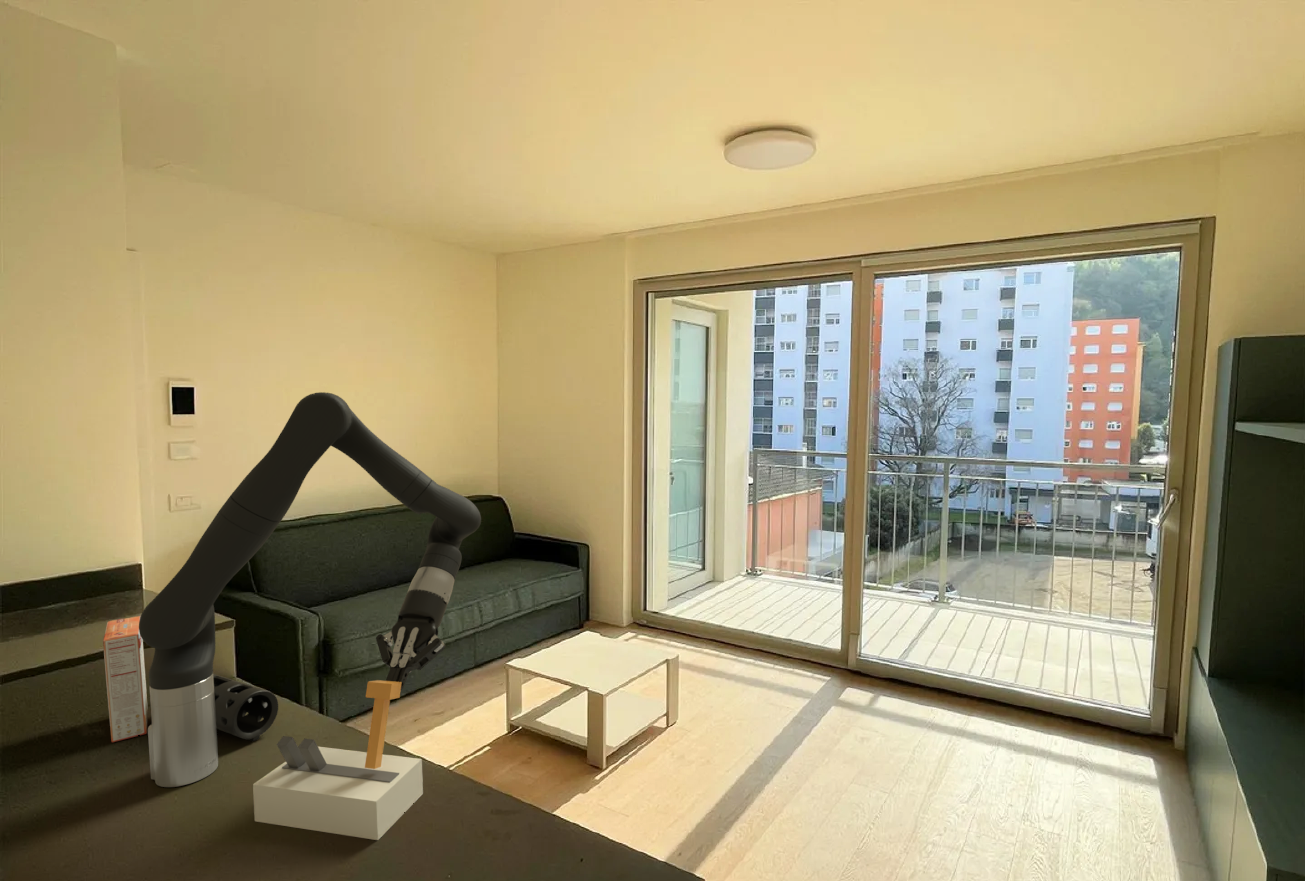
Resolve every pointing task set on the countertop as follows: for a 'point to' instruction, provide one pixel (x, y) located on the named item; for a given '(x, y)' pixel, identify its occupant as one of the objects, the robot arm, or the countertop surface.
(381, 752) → the lever
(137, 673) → the cracker box
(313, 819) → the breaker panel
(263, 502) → the robot arm
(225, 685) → the muzzle brake
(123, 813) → the countertop surface
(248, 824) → the countertop surface
